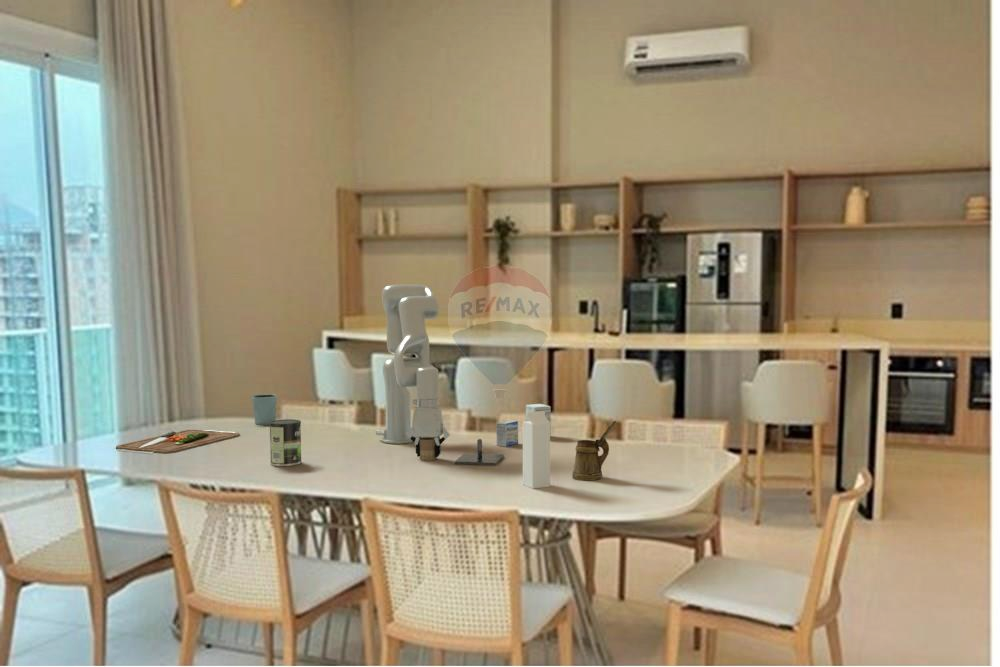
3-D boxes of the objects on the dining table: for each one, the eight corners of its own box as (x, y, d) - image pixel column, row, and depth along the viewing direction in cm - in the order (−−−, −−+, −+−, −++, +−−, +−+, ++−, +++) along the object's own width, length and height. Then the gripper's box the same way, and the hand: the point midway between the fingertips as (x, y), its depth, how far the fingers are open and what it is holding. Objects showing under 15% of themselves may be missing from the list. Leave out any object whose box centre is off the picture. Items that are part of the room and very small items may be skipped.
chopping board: (163, 456, 299) (163, 448, 299) (106, 451, 309) (106, 443, 309) (247, 435, 341) (247, 427, 341) (194, 431, 351) (193, 424, 351)
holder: (454, 464, 282) (454, 442, 282) (464, 455, 296) (464, 434, 296) (496, 465, 280) (496, 443, 279) (504, 457, 293) (503, 436, 293)
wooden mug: (613, 482, 255) (613, 423, 254) (569, 479, 260) (569, 420, 259) (618, 476, 264) (619, 418, 263) (576, 473, 268) (576, 416, 267)
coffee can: (303, 459, 290) (303, 418, 290) (298, 466, 280) (298, 423, 279) (273, 460, 290) (272, 419, 289) (266, 466, 279) (266, 424, 279)
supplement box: (525, 436, 333) (525, 404, 332) (541, 435, 336) (541, 403, 336) (534, 439, 326) (534, 407, 326) (551, 438, 330) (551, 405, 329)
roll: (417, 460, 289) (417, 439, 289) (422, 457, 294) (422, 436, 294) (433, 460, 288) (433, 440, 288) (438, 457, 293) (438, 437, 293)
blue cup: (281, 422, 370) (281, 394, 370) (266, 425, 361) (265, 397, 361) (263, 420, 375) (262, 393, 374) (247, 424, 365) (247, 396, 365)
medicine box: (505, 447, 312) (505, 423, 311) (496, 445, 315) (496, 422, 314) (518, 444, 318) (518, 420, 318) (509, 442, 321) (508, 419, 320)
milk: (522, 484, 253) (521, 411, 252) (540, 482, 256) (539, 409, 255) (532, 489, 248) (532, 413, 247) (550, 486, 251) (550, 412, 249)
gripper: (400, 404, 288) (400, 457, 289) (449, 405, 285) (449, 459, 286) (406, 401, 295) (407, 453, 296) (454, 402, 292) (455, 454, 293)
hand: (428, 455), depth 291 cm, fingers closed on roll, 5 cm apart
